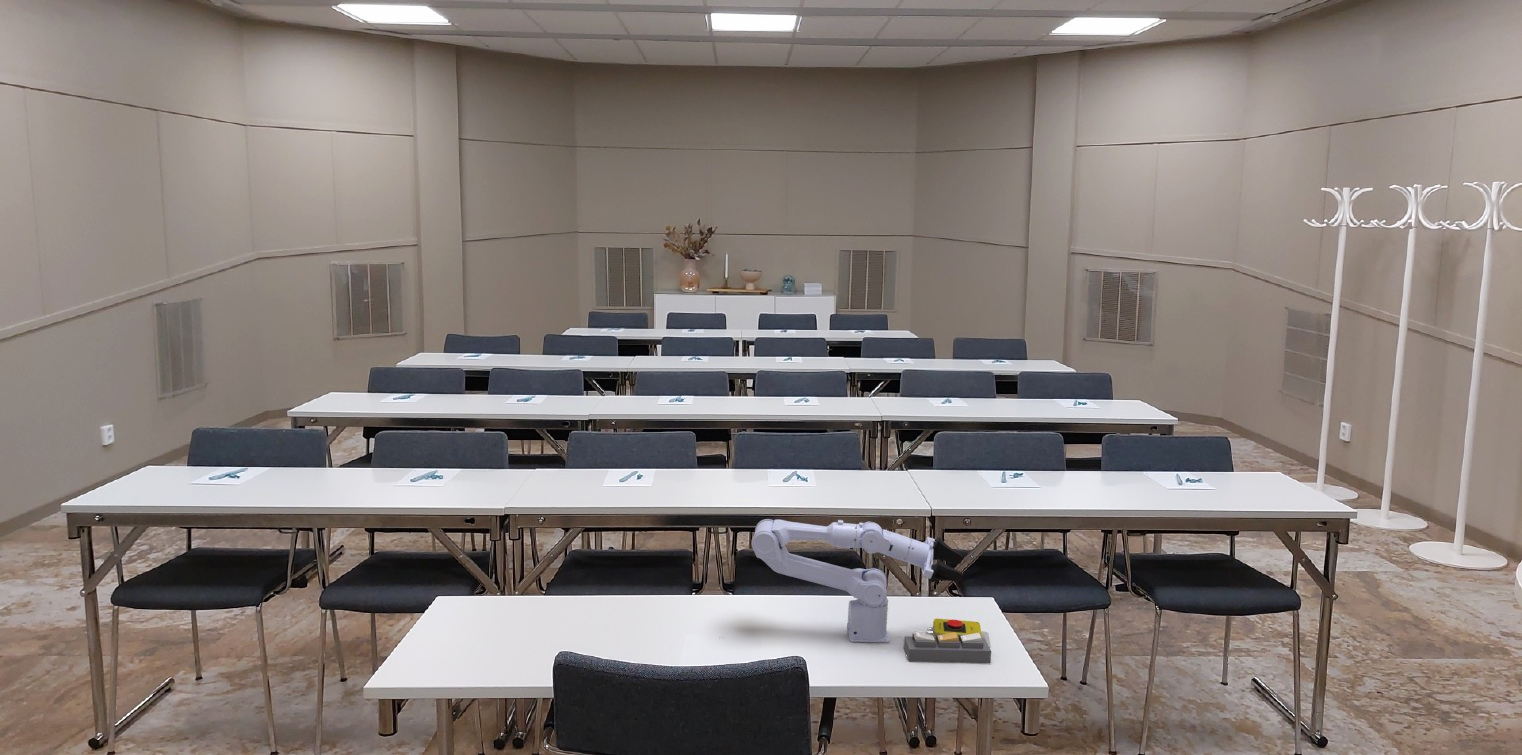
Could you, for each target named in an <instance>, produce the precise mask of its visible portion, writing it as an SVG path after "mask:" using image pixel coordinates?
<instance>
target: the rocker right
mask: <svg viewBox="0 0 1522 755" xmlns="http://www.w3.org/2000/svg"><path fill="white" fill-rule="evenodd" d="M960 637H961V641H962V642H982V638H981V636H980V634H979V633H974V634H969V635H963V636H960Z"/></svg>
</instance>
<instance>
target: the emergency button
mask: <svg viewBox="0 0 1522 755" xmlns="http://www.w3.org/2000/svg"><path fill="white" fill-rule="evenodd" d="M928 628H931V629H928ZM927 631H933V633H928V632H927ZM954 632H956V634H957V636H958V637H959V634H961V635H969V634H974V633H979V634H980V636H981V638H985V640H986V642H987V644H988V646H989V648H990V649H991V648H992V645H991V641H990V634H989V632H987V631H982V629H981V624H980V622H979V621H974V620H973V621H971V620H960V619H959V620H958V619H948V618H947V619H946V618H934V619H933V624H932V627H931V626H930V627H926V634H933V637H936V634H948V633H954Z"/></svg>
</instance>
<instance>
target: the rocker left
mask: <svg viewBox="0 0 1522 755" xmlns="http://www.w3.org/2000/svg"><path fill="white" fill-rule="evenodd" d="M913 634H914V637H915V640H916V641H935V639H934V637H933V635H929V634H927V633H925V632H919V631H915V630H914V632H913Z"/></svg>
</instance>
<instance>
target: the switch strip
mask: <svg viewBox="0 0 1522 755" xmlns="http://www.w3.org/2000/svg"><path fill="white" fill-rule="evenodd" d="M911 635H912V636H911ZM911 635H909V636H907V635H905V636H904V642H903V649H905V650H904V653H905V656H906V655H907V656H906V658H907V662H910V663H911V662H914V663H915V662H916V663H917V662H920V663H925V662H927V663H961V664H962V663H967V664H969V663H971V664H991V662H992V661H991V659H992V658H991V657H992V650H991V647H990V648H989V646H988V644H987V642H986V640H985V638H982V642H962V641H961V637H960V636H963V635H961V634H959V637H958V641H957V642H949V641H938V638H937V635H943V634H936V637H934V639H935V641H916V640H915V637H914V632H913V633H911ZM929 635H933V634H929Z"/></svg>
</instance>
